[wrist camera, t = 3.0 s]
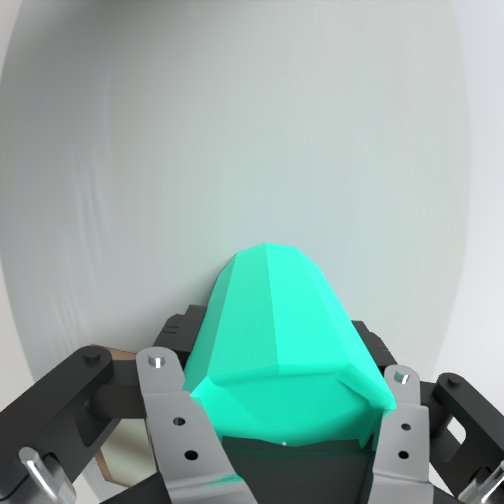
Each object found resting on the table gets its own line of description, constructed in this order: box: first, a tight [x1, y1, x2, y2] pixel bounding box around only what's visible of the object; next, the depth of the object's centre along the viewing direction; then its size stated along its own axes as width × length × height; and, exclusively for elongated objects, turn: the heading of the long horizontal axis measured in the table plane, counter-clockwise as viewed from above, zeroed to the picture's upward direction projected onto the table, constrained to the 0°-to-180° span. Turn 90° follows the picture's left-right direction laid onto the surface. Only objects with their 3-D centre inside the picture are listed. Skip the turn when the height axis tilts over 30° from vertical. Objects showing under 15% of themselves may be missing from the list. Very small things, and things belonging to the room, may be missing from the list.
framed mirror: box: [91, 344, 156, 488], centre depth 17 cm, size 12×12×4 cm
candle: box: [181, 243, 396, 447], centre depth 11 cm, size 6×6×12 cm
